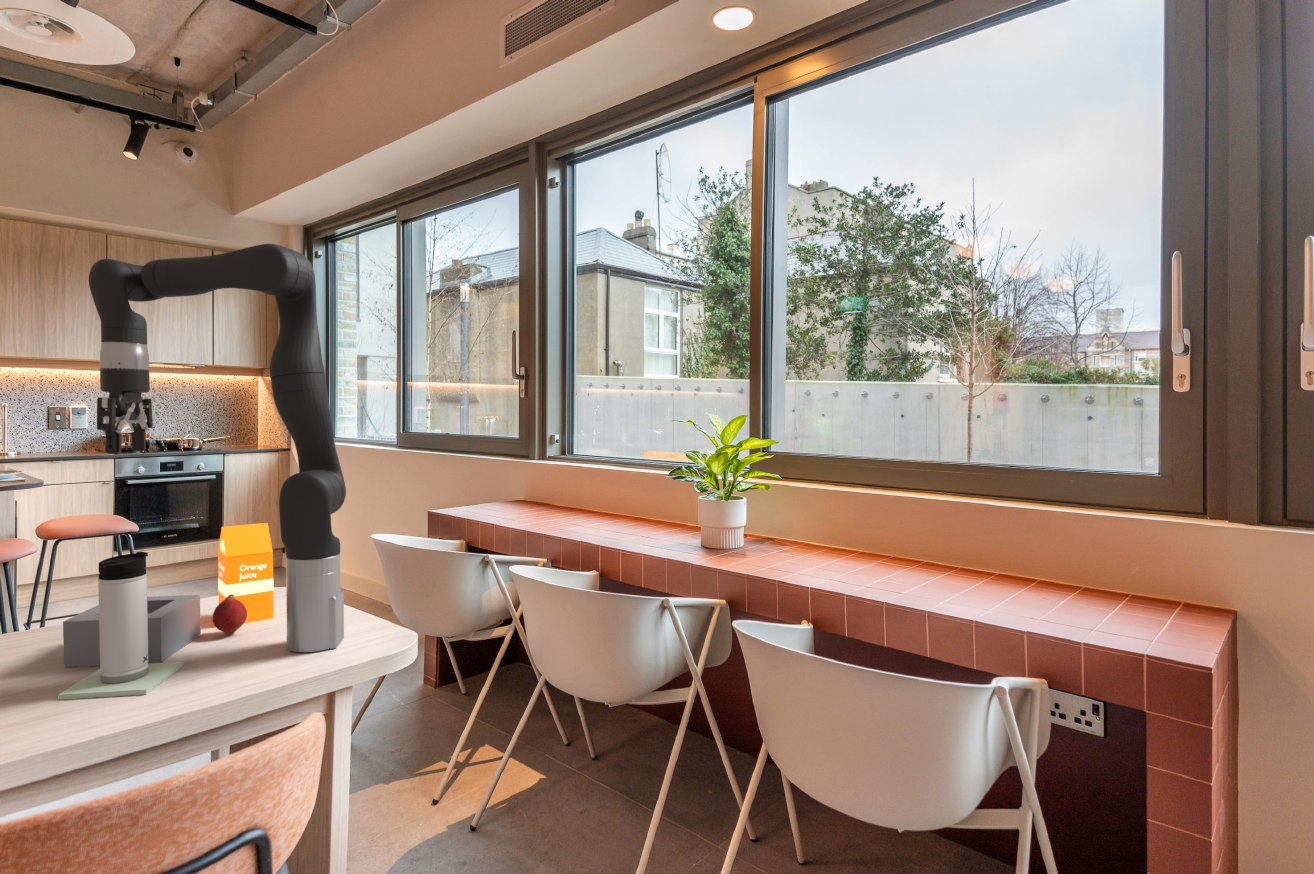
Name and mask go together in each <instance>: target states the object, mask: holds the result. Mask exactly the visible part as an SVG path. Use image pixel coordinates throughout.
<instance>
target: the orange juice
mask: <svg viewBox="0 0 1314 874" xmlns="http://www.w3.org/2000/svg"><path fill="white" fill-rule="evenodd" d="M217 567H218V569H217V571H218V572H217V574H218V576H217V583H218V584H217V587H218V589H217V590H218V605H219V604H220V603H221V602H222V601H224V600H225V599H226V597H227V596H228V595H229V594H233V595H234V599H236V600H238V601H240V602H241V603H242V604H243V605H244V606H245V608H246V610H247V619H246V621H245V623H244V624H249V623H254V622H259V621H264V620H269V619H268V618H271V619H274V618H275V616H274V615H275V614H274V613H275V612H274V603H275V602H274V591H275V590H274V580H275V579H274V551H273V545H272V539H271V535H270V529H269V523H268V522H264V523H250V524H242V525H241V524H240V525H230V526H229V525H227V526H221V531H220V536H219V543H218V550H217Z"/></svg>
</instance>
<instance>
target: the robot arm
mask: <svg viewBox="0 0 1314 874" xmlns="http://www.w3.org/2000/svg"><path fill="white" fill-rule="evenodd" d="M313 267H314V266H313V265H312V263H311V261H310V259H309V258H308V257H307V256H305V255H304V254H303V253H302V252H299V251H296V250H294V249H292V248H288V247H285V246H283V245H279V244H275V243H263V244H262V243H261V244H256V245H253V246H248V247H244V248H241V249H238V250H234V251H229V252H225V253H218V254H213V255H205V256H193V257H190V256H189V257H175V258H161V259H153V260H151V261H148V262H146V263H145V264H144V265H141V264H139V265H137V264H133V263H130V262H127V261H126V262H125V261H121V260H117V259H112V258H102V259H100V260H97V261H96V262H95V263H94V264H92V266H91V268H90V269H89V275H88V287H89V290H90V294H91V296H92V300H93V303H94V306H95V308H96V312H97V314H98V317H99V320H100V339H101V341H100V342H101V343H100V351H99V379H100V382H99V383H100V387H99V388H100V391H101V392H104V393H109V394H108V397H106V396H105V397H102V396H101V397H97V399H96V429H97V430H98V431H102V432H103V434H105V452H106V453H107V454H110V455H111V454H112V455H113V454H121V453H122V451H123V450H122V433H121V432H122V430H123V427H124V425H126V424H128V425H129V428H130V430H131V432H130V437H131V439H130V440H131V443H130V444H131V445H130V446H131V451H133V452H144V451H146V449H147V437H146V435H147V433H146V432H148V430H149V429H152V428H153V426H154V425H153V424H154V423H153V402H152V398H144V397H142V394H143V393H145V394H147V393H149V392H150V390H151V386H150V379H151V377H150V355H149V354H150V353H149V349H148V324H147V320H146V318H145V316H143V315H141V314H139V313H137V312H135V311H134V310H133V309H132V308H131V304H130V302H137V303H138V302H141V303H143V302H145V303H146V302H152V301H156V300H159V299H160V300H161V299H163V298H175V297H176V298H179V297H192V296H199V295H203V294H208V293H211V292H214V291H216V290H222V289H238V290H239V289H240V290H249V291H250V290H251V291H255V292H256V291H257V292H261V293H264V294H266V295H270V296H274V298H275V302H276V306H277V312H278V318H279V319H278V320H279V331H278V336H277V338H276V343H275V345H274V348H273V351H272V355H271V358H270V361H269V363H270V364H269V376H270V378H269V379H270V383H271V384H270V385H271V389H272V396H273V400H274V401H273V402H274V404H275V407H276V410H277V413H278V414H279V417H280V418H281V420H282V421H283V424H284V427H286V429H287V431H288V433H289V434H290V437H291V438H292V441H293V443H294V447H295V451H296V454H297V461H298V473H294V474H293V475H291V476H289V477H288V478H286V480H285V481H284V482H283V484H282V486H281V488H280V493H279V502H278V507H279V526H280V538H281V542H282V544H283V546H284V549H285V556H286V557H285V577H286V578H285V583H286V585H285V586H286V590H285V592H286V594H285V595H286V597H285V598H286V606H285V607H286V648H287V650H288V651H290V652H293V653H312V652H313V653H314V652H319V651H325V650H329V648H330V649H336V648H337V647H338V646H339V645H340V644H341V643H342V641H343V640H344V638H345V606H344V605H345V601H344V599H345V596H344V595H345V594H344V592H345V591H344V590H343V589H341V587H342V586H341V585H342V583H341V540H340V538H339V537H338V536H335V535H334V533H333V529H332V514H335V513H336V512H338V511H339V510H340V509H341V508H342V507H343V505H344V503H345V499H346V496H347V488H346V487H347V486H346V482H345V479H344V473H343V471H342V467H341V463H340V460H339V459H340V458H339V455H338V452H337V447H336V443H335V438H334V430H333V429H334V428H333V421H332V415H331V409H330V408H331V407H330V402H329V392H328V387H327V379H326V372H325V366H324V362H323V356H322V348H321V339H320V333H319V327H318V316H317V315H318V314H317V313H318V312H317V289H316V288H317V287H316V275H315V270H314V268H313ZM104 421H105V422H104ZM342 639H343V640H342ZM339 643H340V644H339Z"/></svg>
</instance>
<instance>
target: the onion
mask: <svg viewBox="0 0 1314 874" xmlns="http://www.w3.org/2000/svg"><path fill="white" fill-rule="evenodd" d="M246 619H247V610H246V608H245V606H244V605H243V604H242V603H241V602H240V601H238V600H236V599H234V595H233V594H229V595H228V596H227V597H226V599H225V600H224V601H222V602H221V603H220V604H219V603H218V605H217V606H216V607H215V609H214V611H213V613H212V624H213V625H214V627H215V628H216V629H217V630H219V631H221V632H223V633H224V634H226V635H232V634H234V633H236V632H237V630H239V629H240V628H241V627H242V626H243V625H244V624H246V623H245V621H246Z"/></svg>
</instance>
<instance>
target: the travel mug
mask: <svg viewBox="0 0 1314 874" xmlns="http://www.w3.org/2000/svg"><path fill="white" fill-rule="evenodd" d="M148 556H149V553H148V552H145V551H136V552H135V553H127V554H121V555H120V554H119V555H116V556H111V557H109V558H106V559H103V560H101V561H100V562H98V579H97V580H98V584H97V585H98V587H97V588H98V605H99V635H100V666H99V669H100V670H101V672H100V680H101V681H102V682H104V683H108V684H115V683H124V682H129V681H133V680H136V679H139V678H141V677H143V676H145V675H146V674H147V673H148V672H149V669H148V664H149V663H148V617H147V597H148V578H147V576H148V573H147V557H148Z"/></svg>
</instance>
